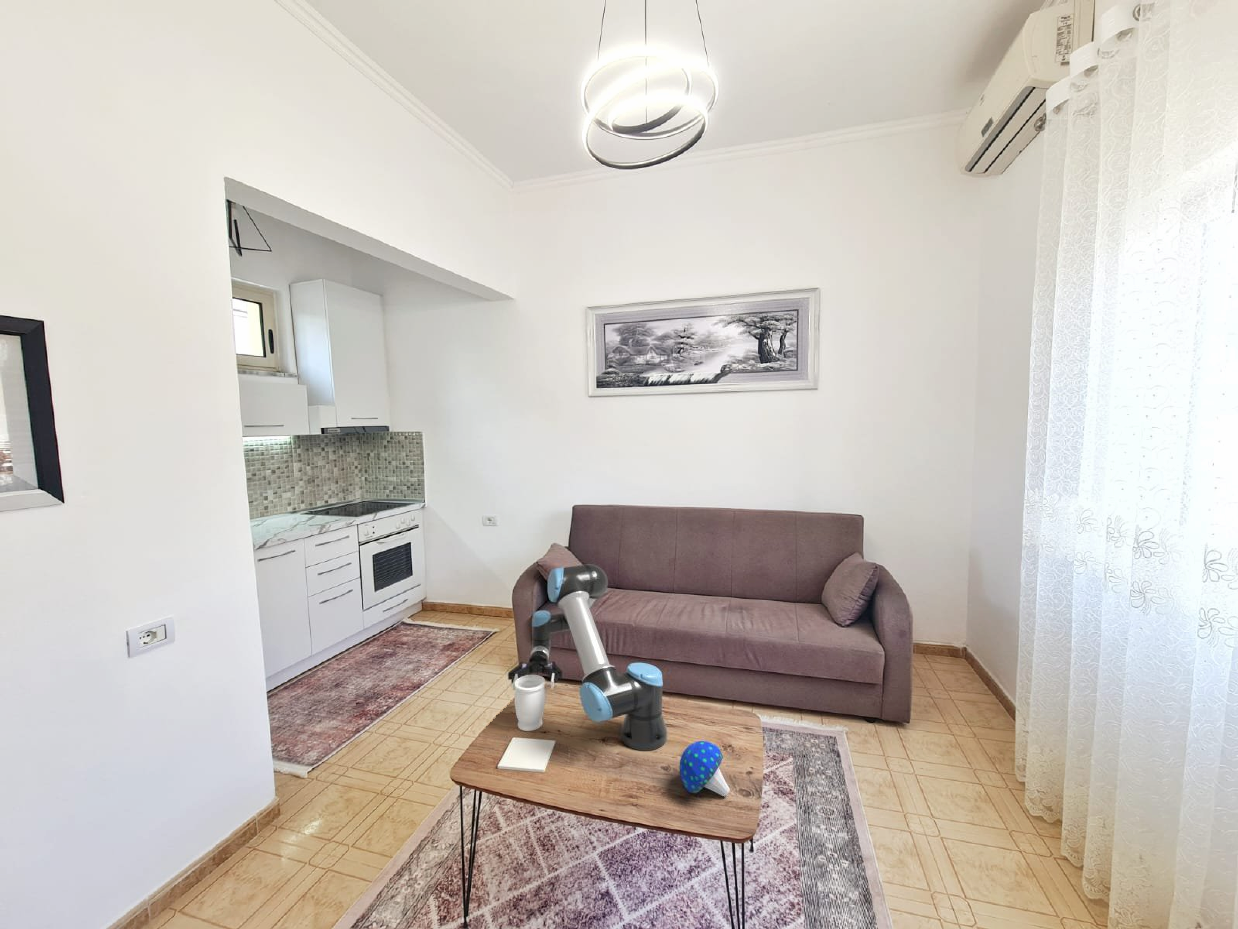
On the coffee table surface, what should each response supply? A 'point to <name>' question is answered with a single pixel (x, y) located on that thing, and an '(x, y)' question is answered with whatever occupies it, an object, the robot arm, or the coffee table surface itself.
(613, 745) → the coffee table surface
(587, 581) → the robot arm
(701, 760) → the mushroom
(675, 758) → the coffee table surface
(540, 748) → the ceramic tile
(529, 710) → the jar
